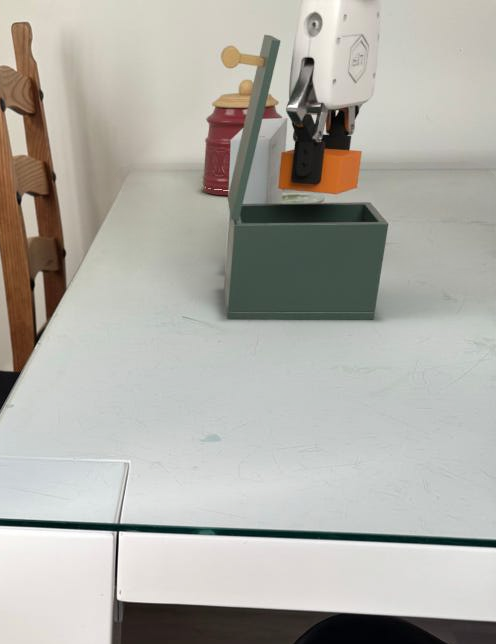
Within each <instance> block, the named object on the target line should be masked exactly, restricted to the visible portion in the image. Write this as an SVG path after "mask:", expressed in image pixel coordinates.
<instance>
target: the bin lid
mask: <svg viewBox="0 0 496 644" xmlns="http://www.w3.org/2000/svg"><path fill="white" fill-rule="evenodd" d="M280 47H281V40H280V39H279V38H277V37H275V36H273V35H271V34H270V35H269V34H264V35H263V38H262V43H261V48H260V51H259V55H255V54H247V53H241V52H240V51H239V49H238V48H237V47H236V46H234V45H227V46H225V47H224V48H223V49H222V51H221V53H220V59H221V63H222V64H223V66H224V67H225V68H227V69H234V68H236V67H237V66H238V65H239V64H240V65H241V64H242V65H246V66H247V65H248V66H255V67H256V70H255V75H254V78H253V87H252V92H251V96H250V101H249V105H248V110H247V114H246V118H245V123H244V127H243V132H242V136H241V141H240V145H239V150H238V154H237V159H236V163H235V167H234V172H233V176H232V181H231V185H230V190H229V194H228V196H227V205H228V204H229V209H230V214H231V219H232V220H237V221H238V220H239V217H240V213H241V209H242V204H243V200H244V196H245V192H246V187H247V183H248V179H249V174H250V170H251V166H252V162H253V157H254V153H255V149H256V144H257V140H258V136H259V132H260V127H261V123H262V119H263V114H264V110H265V106H266V102H267V97H268V94H270V93H269V92H270V88H271V83H272V80H273V76H274V72H275V67H276V63H277V59H278V54H279V50H280Z"/></svg>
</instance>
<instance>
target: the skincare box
mask: <svg viewBox="0 0 496 644" xmlns="http://www.w3.org/2000/svg"><path fill="white" fill-rule="evenodd" d="M287 131H288V117H282V118H274V119H262V123H261V127H260V132H259V136H258V140H257V144H256V149H255V153H254V157H253V162H252V166H251V170H250V174H249V179H248V183H247V187H246V192H245V196H244V200H243V204H268V203H282V193H284V192H283V190H284V189H278V186H279V175H280V164H281V154H282V152H286V151H287V150H286V149H287V133H288V132H287ZM242 132H243V129H242V130H241V131H240V132H238V133H237V134H236V135H235V136H234V137H233V138H232V139H231V148H230V172H229V190H230V185H231V181H232V176H233V172H234V167H235V163H236V159H237V154H238V150H239V145H240V141H241V136H242ZM228 194H229V193H228ZM229 217H230V209H229V204H228V203H227V221H226V241H225V242H226V245H225V246H226V247H225V258H226V257H227V244H228V231H229ZM225 270H226V264H225V267H224V271H225Z"/></svg>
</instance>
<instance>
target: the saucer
mask: <svg viewBox="0 0 496 644" xmlns="http://www.w3.org/2000/svg"><path fill="white" fill-rule="evenodd" d="M324 201H325V197H324V196H323V195H321V194H317V193H312V192H282V203H324Z"/></svg>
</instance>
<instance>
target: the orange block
mask: <svg viewBox="0 0 496 644" xmlns="http://www.w3.org/2000/svg"><path fill="white" fill-rule="evenodd" d="M362 152H363V151H362V150H355V149H354V150H352V149H350V150H338V149H325V150H324V158H323V167H322V175H321V181H320V183H318V184H304V183H294V182H292V180H291V176H292V167H293V157H294V149H290V150H285V152H282V154H281V164H280V175H279V186H278V189H283V190H287V191H297V192H307V193H321V194H331V195H339V194H342V193H345V192H348V191H351V190H354V189H357V188H358V182H359V175H360V168H361V159H362Z"/></svg>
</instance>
